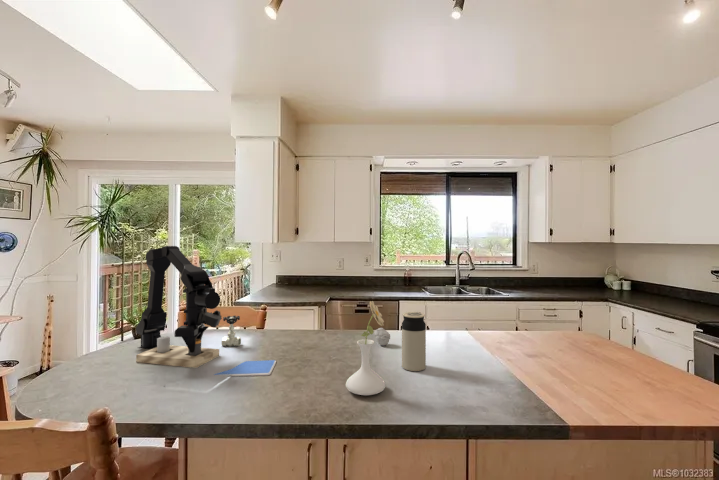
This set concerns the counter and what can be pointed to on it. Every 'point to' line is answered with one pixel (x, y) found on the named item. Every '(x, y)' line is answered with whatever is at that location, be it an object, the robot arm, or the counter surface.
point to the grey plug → (163, 344)
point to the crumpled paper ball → (382, 336)
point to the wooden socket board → (177, 357)
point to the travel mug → (413, 341)
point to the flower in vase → (367, 364)
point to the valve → (231, 333)
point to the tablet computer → (251, 368)
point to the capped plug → (196, 348)
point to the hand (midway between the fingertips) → (194, 350)
